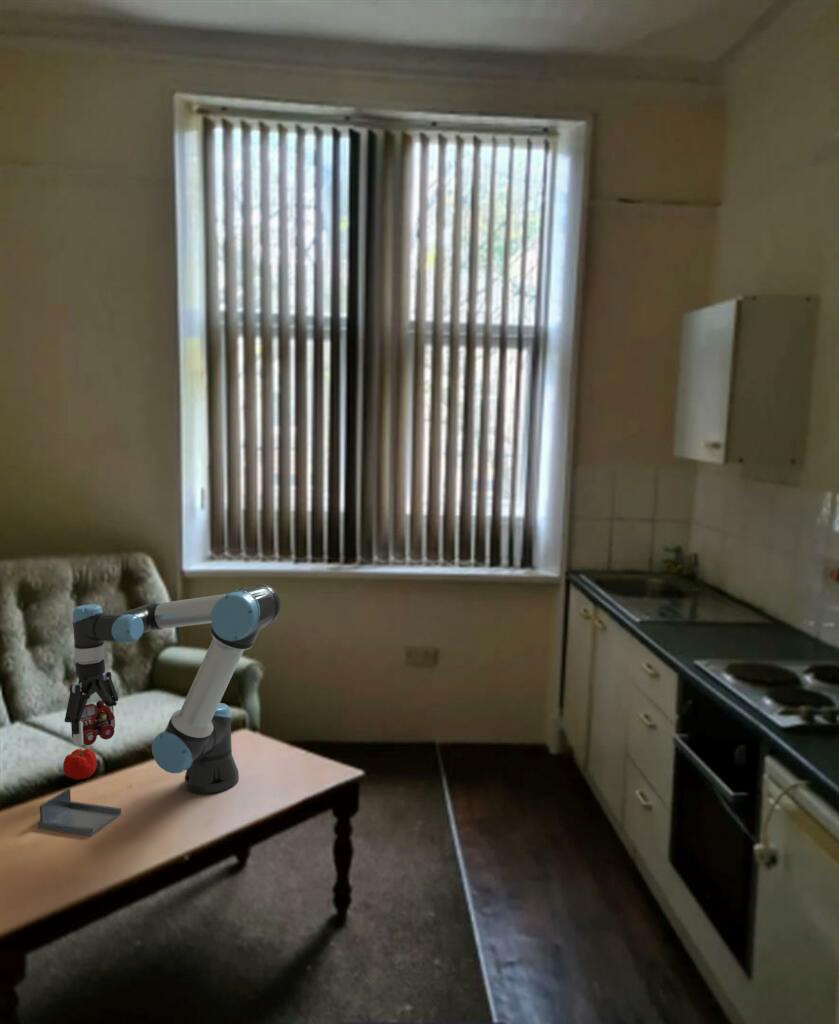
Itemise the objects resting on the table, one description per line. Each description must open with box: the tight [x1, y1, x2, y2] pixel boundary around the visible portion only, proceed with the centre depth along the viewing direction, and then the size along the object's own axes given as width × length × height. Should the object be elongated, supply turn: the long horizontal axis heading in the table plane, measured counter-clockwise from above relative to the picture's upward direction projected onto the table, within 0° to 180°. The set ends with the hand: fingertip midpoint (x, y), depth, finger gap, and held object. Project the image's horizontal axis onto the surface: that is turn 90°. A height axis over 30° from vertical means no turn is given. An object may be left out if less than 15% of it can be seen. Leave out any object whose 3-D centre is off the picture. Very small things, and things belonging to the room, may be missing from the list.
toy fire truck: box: [71, 699, 116, 746], centre depth 210 cm, size 7×12×10 cm, turn 140°
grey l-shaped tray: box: [37, 788, 122, 837], centre depth 195 cm, size 16×12×6 cm
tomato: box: [62, 748, 98, 781], centre depth 222 cm, size 9×9×8 cm
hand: (94, 736), depth 211 cm, fingers closed on toy fire truck, 11 cm apart
